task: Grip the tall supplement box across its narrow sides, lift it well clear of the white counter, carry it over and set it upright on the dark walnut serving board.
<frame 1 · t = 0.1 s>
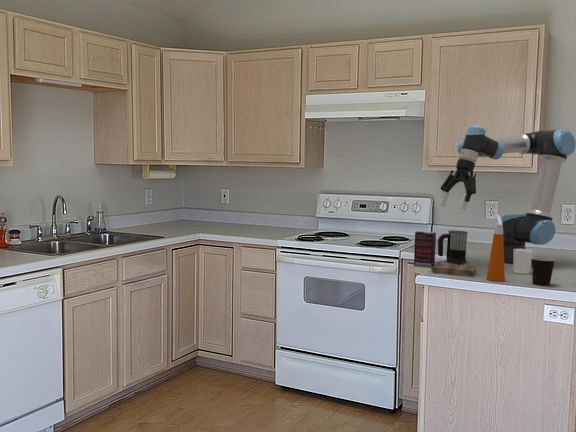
hand: (452, 207, 259), 28 cm above the worktop, tool tilted 20°, fingers open, 13 cm apart
walnut board: (454, 272, 259), on the worktop
supplement box: (424, 267, 271), on the worktop
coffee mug: (542, 283, 240), on the worktop
white cup: (521, 273, 263), on the worktop
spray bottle: (494, 279, 246), on the worktop
black pitcher: (456, 263, 284), on the worktop
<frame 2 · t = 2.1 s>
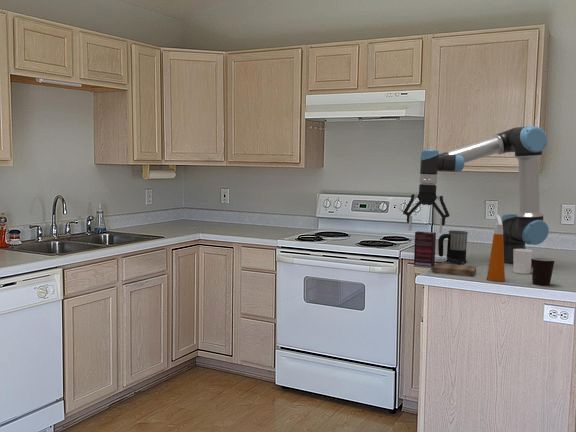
hand: (425, 231, 269), 16 cm above the worktop, tool pointing down, fingers open, 13 cm apart
nothing on the worktop moved.
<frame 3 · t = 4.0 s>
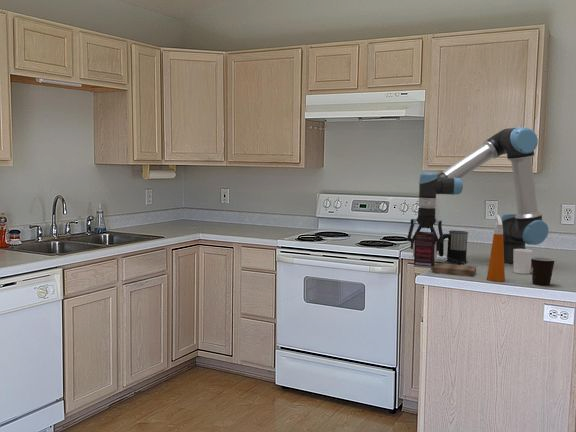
hand: (424, 257, 270), 4 cm above the worktop, tool pointing down, fingers closed on supplement box, 9 cm apart
supplement box: (424, 267, 271), on the worktop, touching gripper
everything else where it was.
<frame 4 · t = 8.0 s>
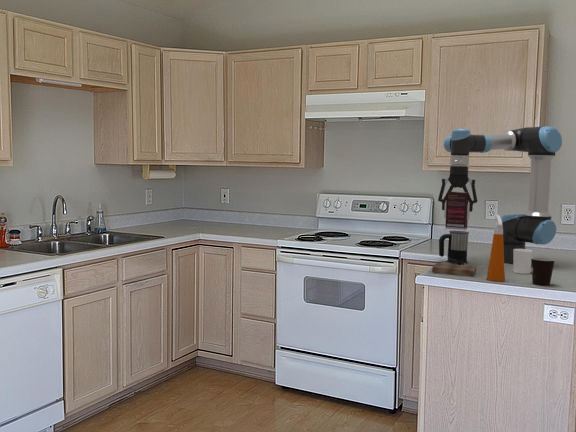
hand: (456, 218, 257), 23 cm above the worktop, tool pointing down, fingers closed on supplement box, 9 cm apart
supplement box: (456, 229, 258), point 19 cm above the worktop, touching gripper
everything else where it was.
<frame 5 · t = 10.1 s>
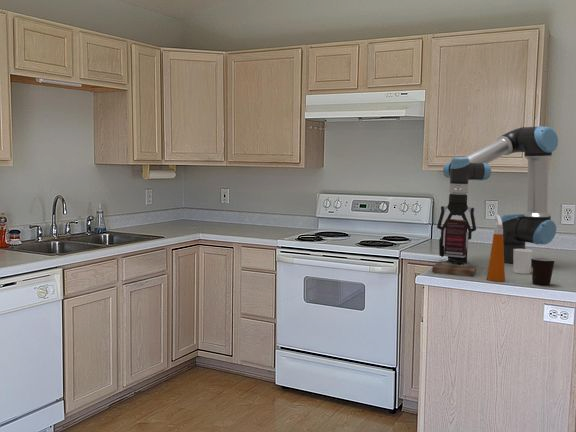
hand: (455, 246, 258), 11 cm above the worktop, tool pointing down, fingers closed on supplement box, 9 cm apart
supplement box: (454, 256, 258), point 7 cm above the worktop, touching gripper
everything else where it was.
when the fingers open (8 cm above the worktop, at t = 11.8 s): supplement box stays where it is, resting on walnut board.
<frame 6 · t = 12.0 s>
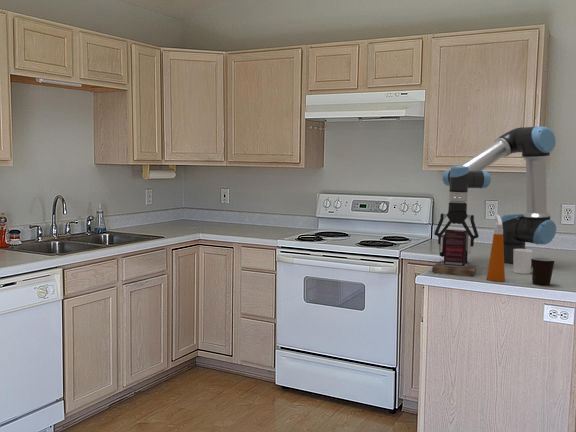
hand: (455, 253, 258), 8 cm above the worktop, tool pointing down, fingers open, 11 cm apart
supplement box: (454, 267, 259), point 2 cm above the worktop, touching walnut board
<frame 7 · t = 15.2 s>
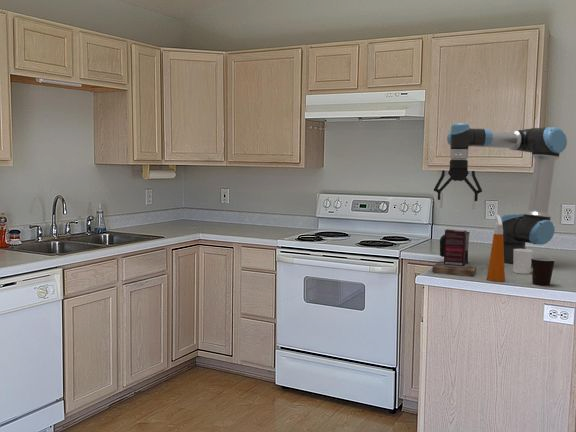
hand: (457, 208, 262), 27 cm above the worktop, tool pointing down, fingers open, 13 cm apart
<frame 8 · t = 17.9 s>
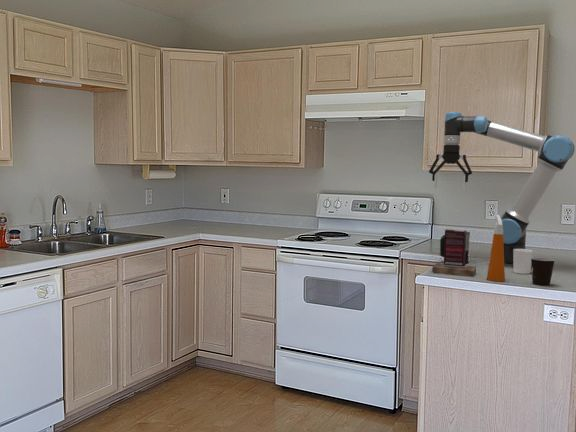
hand: (449, 188, 292), 35 cm above the worktop, tool pointing down, fingers open, 13 cm apart
at the end: supplement box inside the target area on the walnut board (0.2 cm from its centre), point 2.3 cm above the walnut board's base; supplement box tilted 0°; the gripper is holding nothing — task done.
